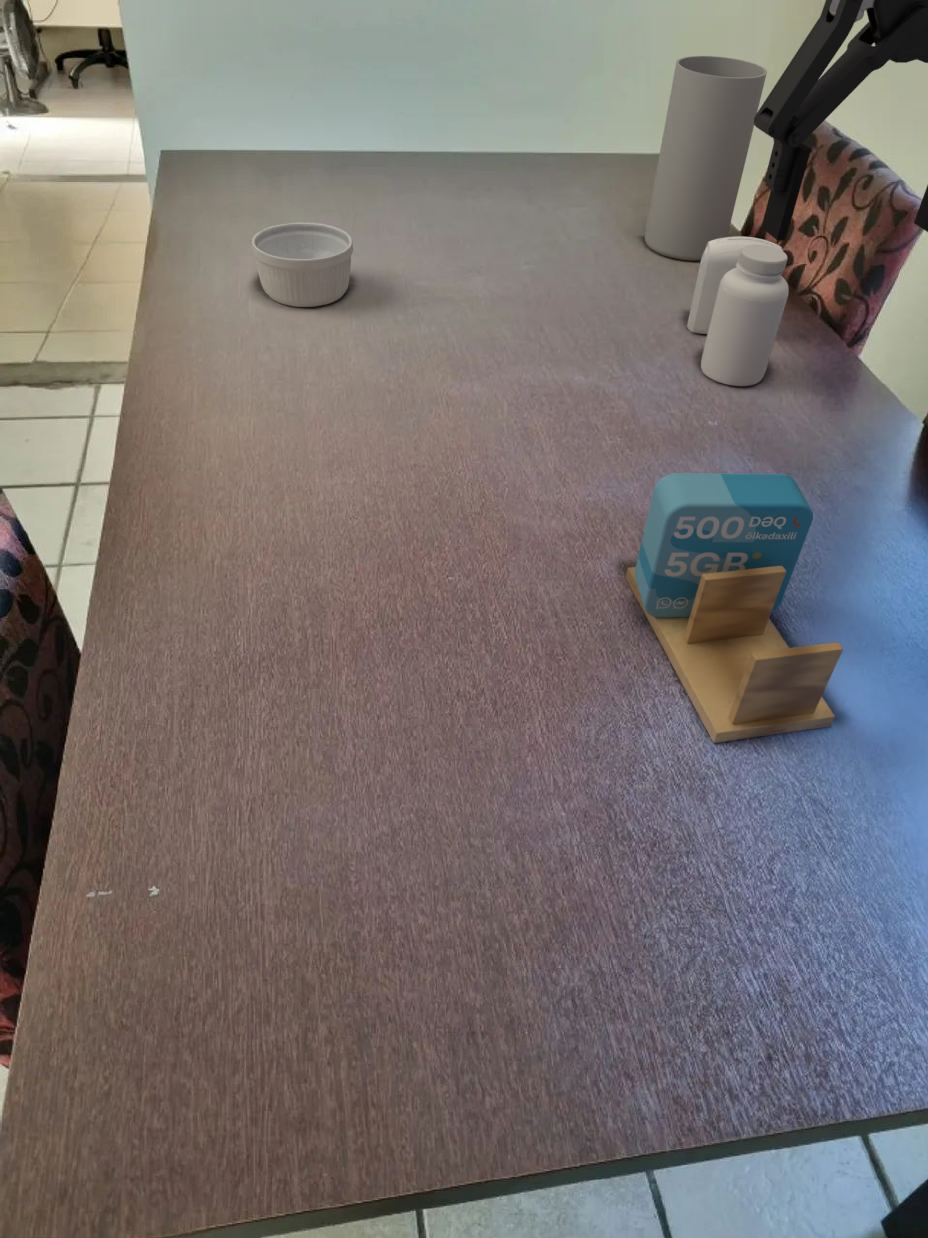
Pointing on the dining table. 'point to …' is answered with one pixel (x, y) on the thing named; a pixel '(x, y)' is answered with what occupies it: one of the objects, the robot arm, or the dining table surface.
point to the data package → (717, 534)
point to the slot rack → (744, 658)
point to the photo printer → (716, 276)
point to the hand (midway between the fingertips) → (851, 231)
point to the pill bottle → (746, 317)
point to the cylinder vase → (702, 153)
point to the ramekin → (303, 263)
